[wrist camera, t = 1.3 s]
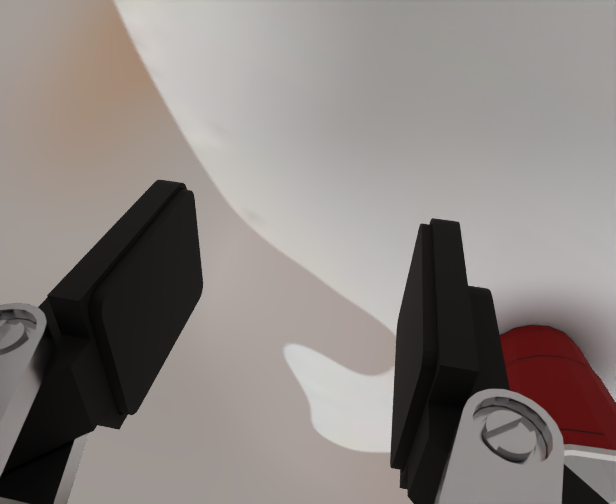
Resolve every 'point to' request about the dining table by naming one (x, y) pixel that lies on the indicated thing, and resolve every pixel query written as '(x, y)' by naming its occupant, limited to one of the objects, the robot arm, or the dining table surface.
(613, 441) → the plastic cup
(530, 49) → the dining table surface
